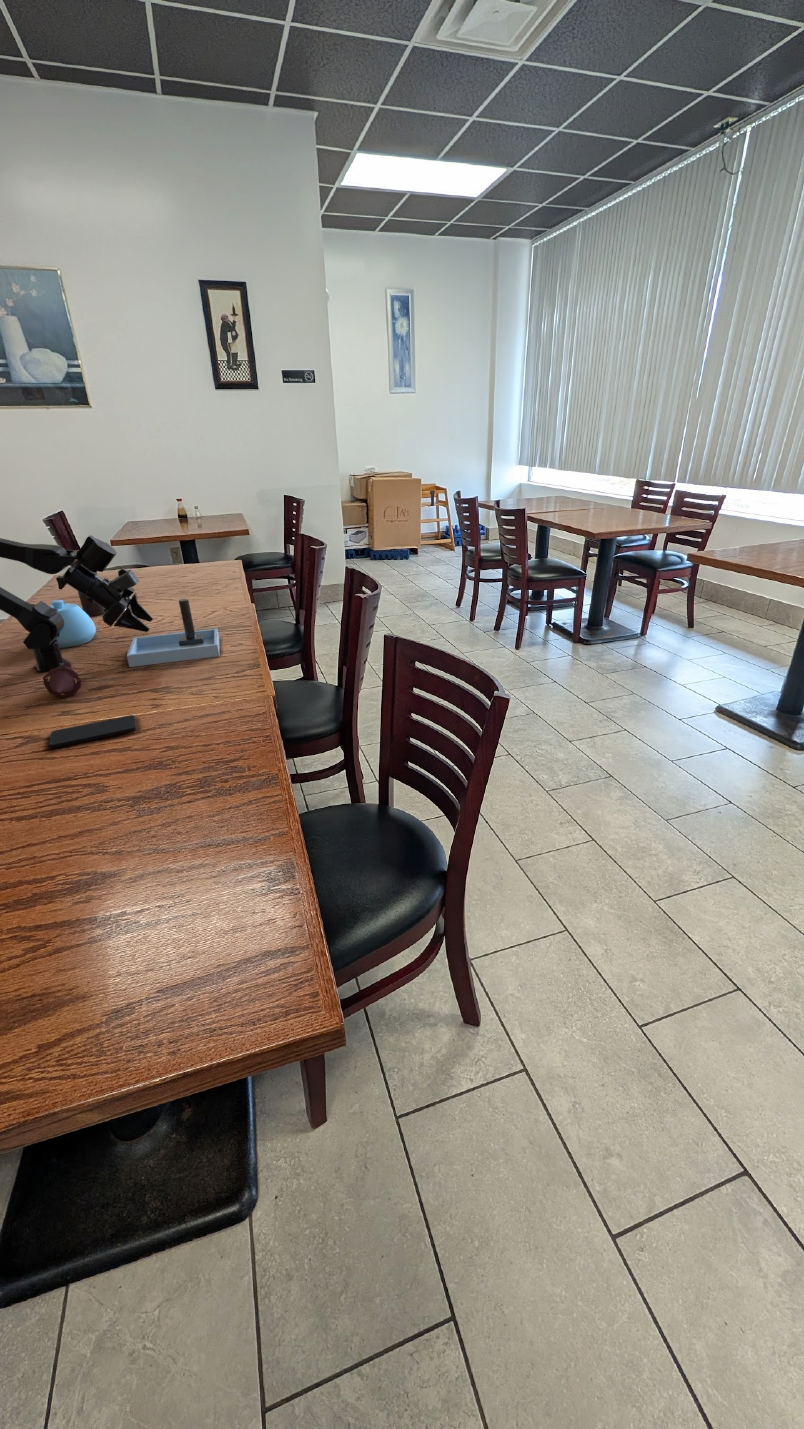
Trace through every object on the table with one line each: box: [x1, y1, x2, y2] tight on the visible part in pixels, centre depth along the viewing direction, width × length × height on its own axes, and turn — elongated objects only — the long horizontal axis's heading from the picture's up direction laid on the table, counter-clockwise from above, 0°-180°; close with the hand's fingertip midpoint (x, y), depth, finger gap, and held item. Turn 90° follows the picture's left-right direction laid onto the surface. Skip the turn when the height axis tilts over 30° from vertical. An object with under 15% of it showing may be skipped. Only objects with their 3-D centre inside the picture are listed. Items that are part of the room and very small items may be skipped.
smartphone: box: [48, 714, 137, 749], centre depth 112 cm, size 7×1×15 cm
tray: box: [126, 628, 220, 668], centre depth 153 cm, size 22×15×3 cm
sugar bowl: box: [49, 599, 97, 649], centre depth 163 cm, size 15×15×12 cm
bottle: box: [71, 549, 105, 617], centre depth 187 cm, size 7×7×20 cm
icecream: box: [42, 661, 82, 699], centre depth 129 cm, size 7×7×15 cm
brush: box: [178, 598, 204, 648], centre depth 152 cm, size 6×4×13 cm
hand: (150, 625), depth 149 cm, fingers open, 9 cm apart
